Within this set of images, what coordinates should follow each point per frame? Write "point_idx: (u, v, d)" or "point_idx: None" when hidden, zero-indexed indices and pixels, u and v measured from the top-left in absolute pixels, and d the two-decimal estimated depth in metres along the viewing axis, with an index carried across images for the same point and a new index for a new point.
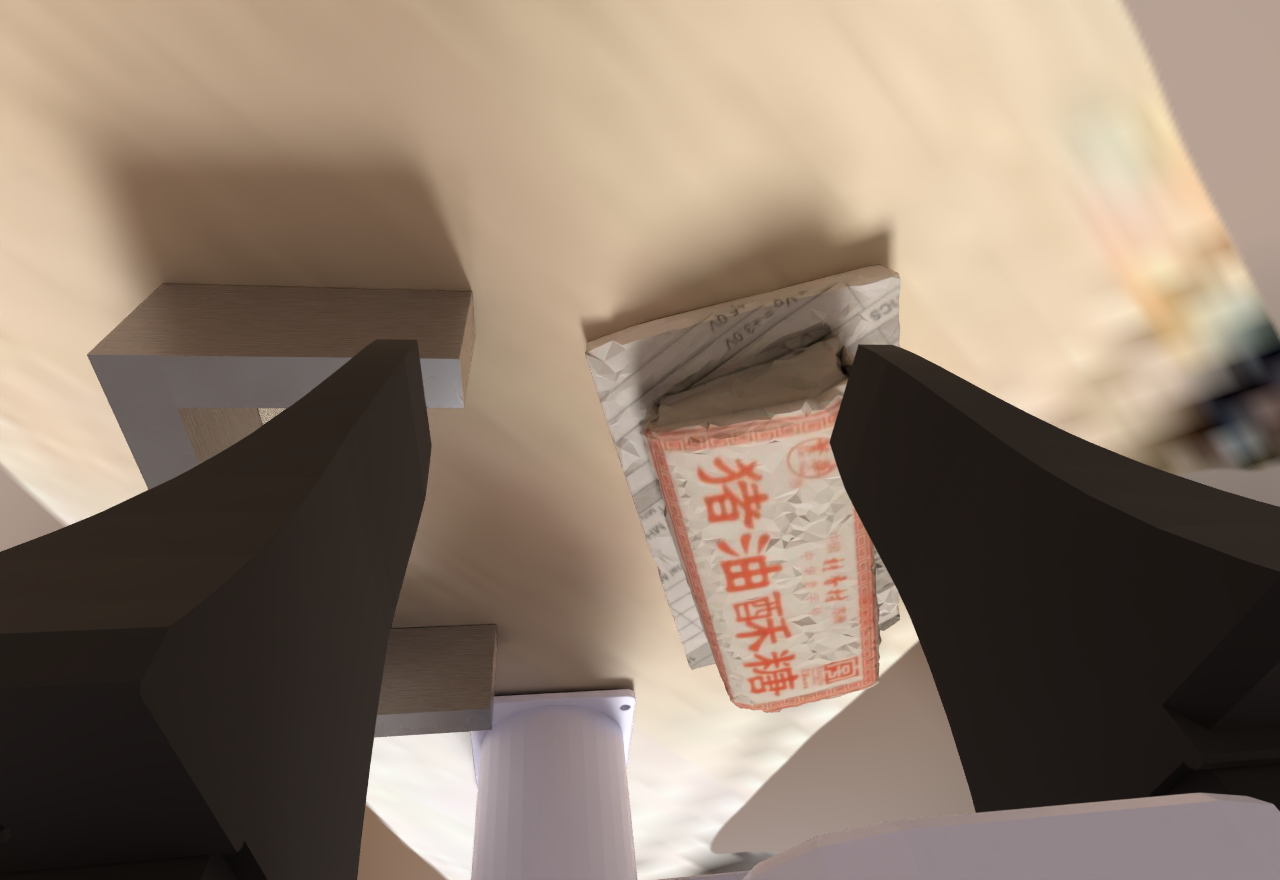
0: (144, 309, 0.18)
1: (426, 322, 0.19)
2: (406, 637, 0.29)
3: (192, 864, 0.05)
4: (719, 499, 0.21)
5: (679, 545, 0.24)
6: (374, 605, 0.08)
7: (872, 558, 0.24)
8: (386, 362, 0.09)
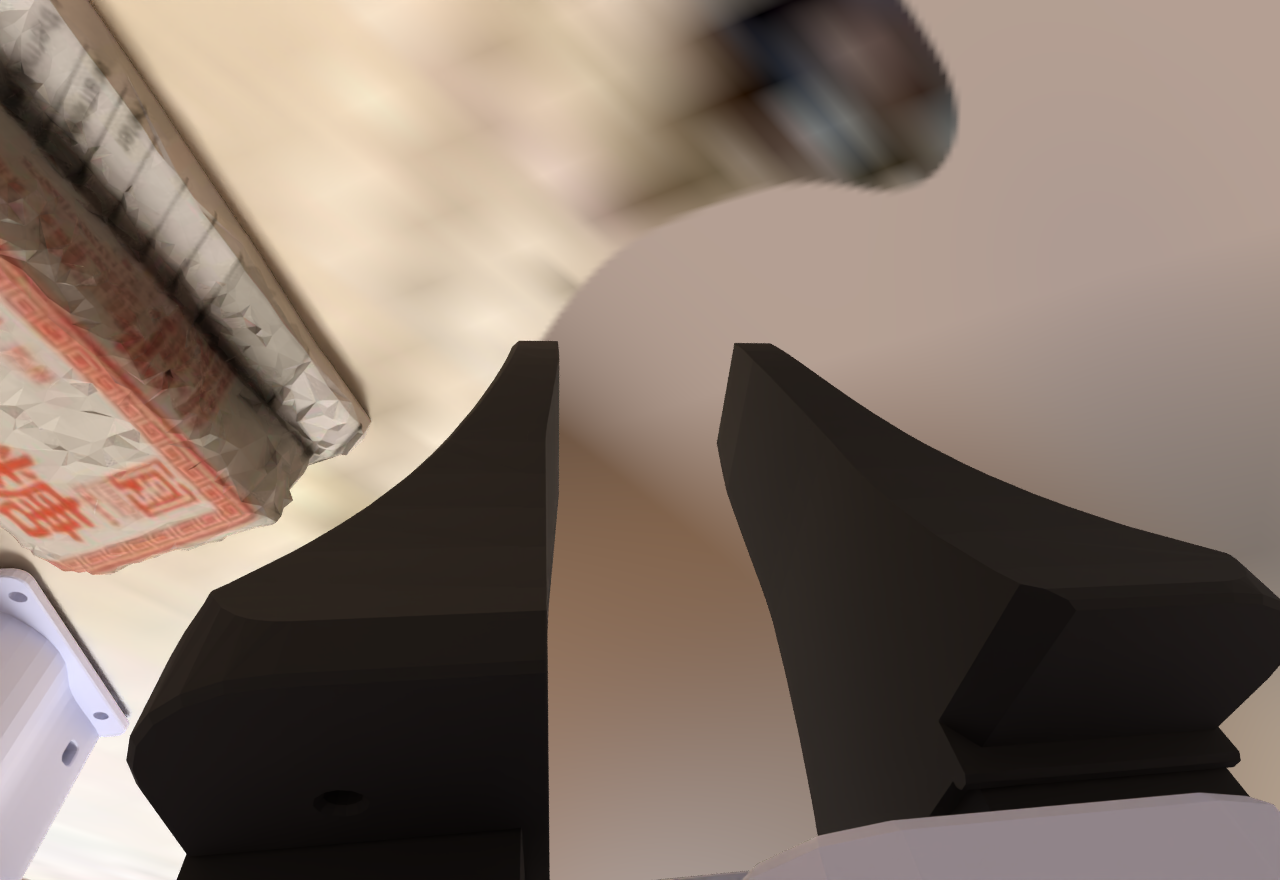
0: None
1: None
2: None
3: (507, 837, 0.05)
4: None
5: None
6: None
7: None
8: (544, 363, 0.09)
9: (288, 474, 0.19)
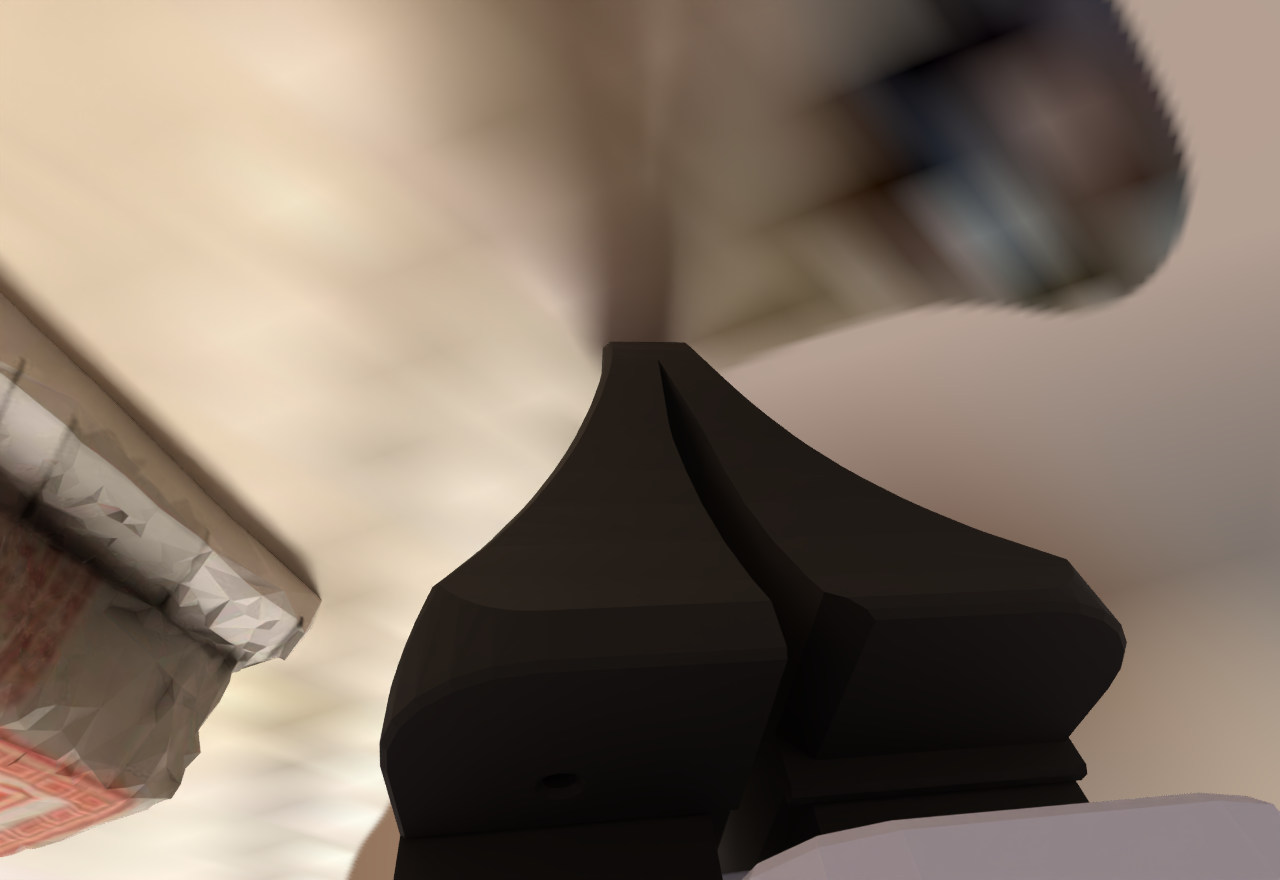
0: None
1: None
2: None
3: (699, 820, 0.05)
4: None
5: None
6: None
7: None
8: (644, 364, 0.10)
9: (193, 712, 0.13)
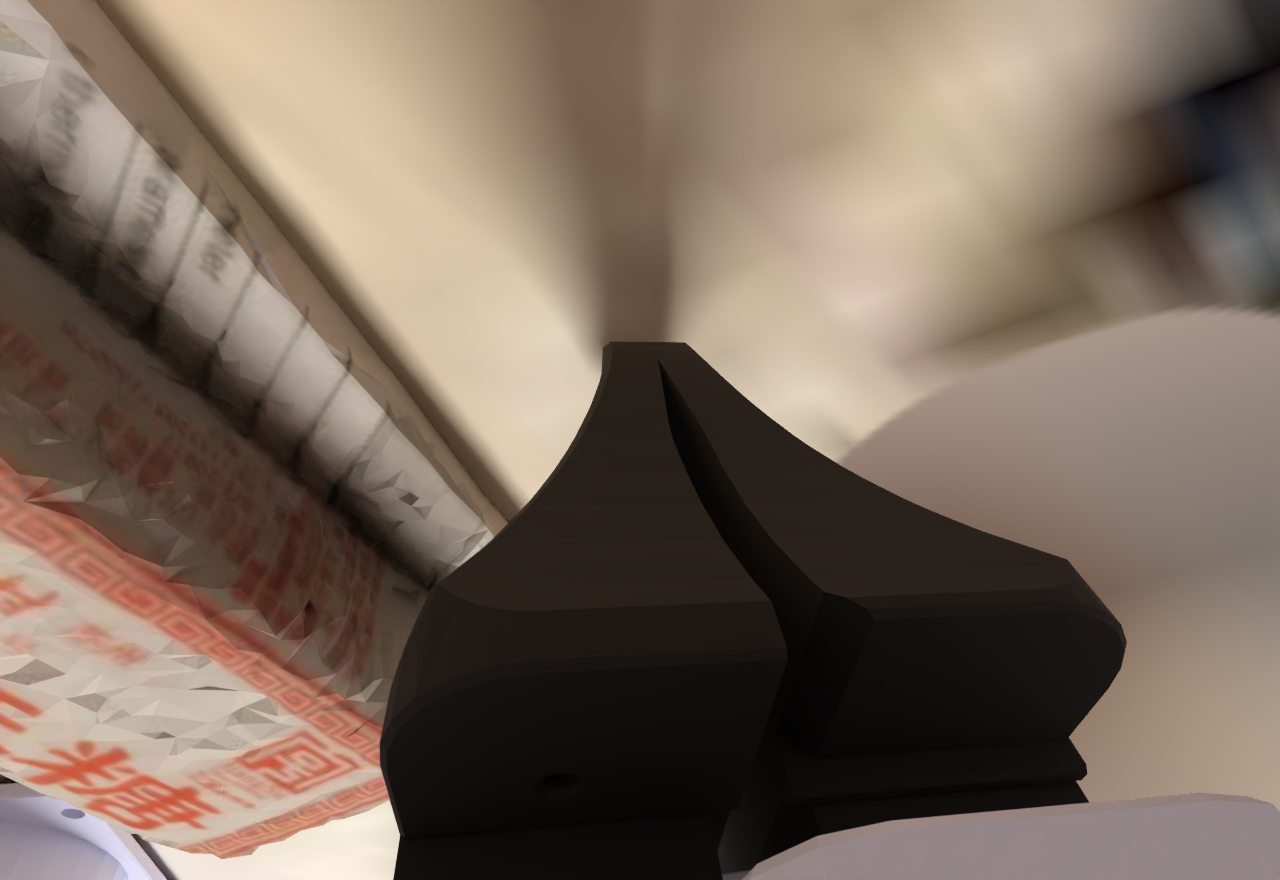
0: None
1: None
2: None
3: (699, 820, 0.05)
4: None
5: None
6: None
7: (1, 467, 0.07)
8: (644, 364, 0.10)
9: None
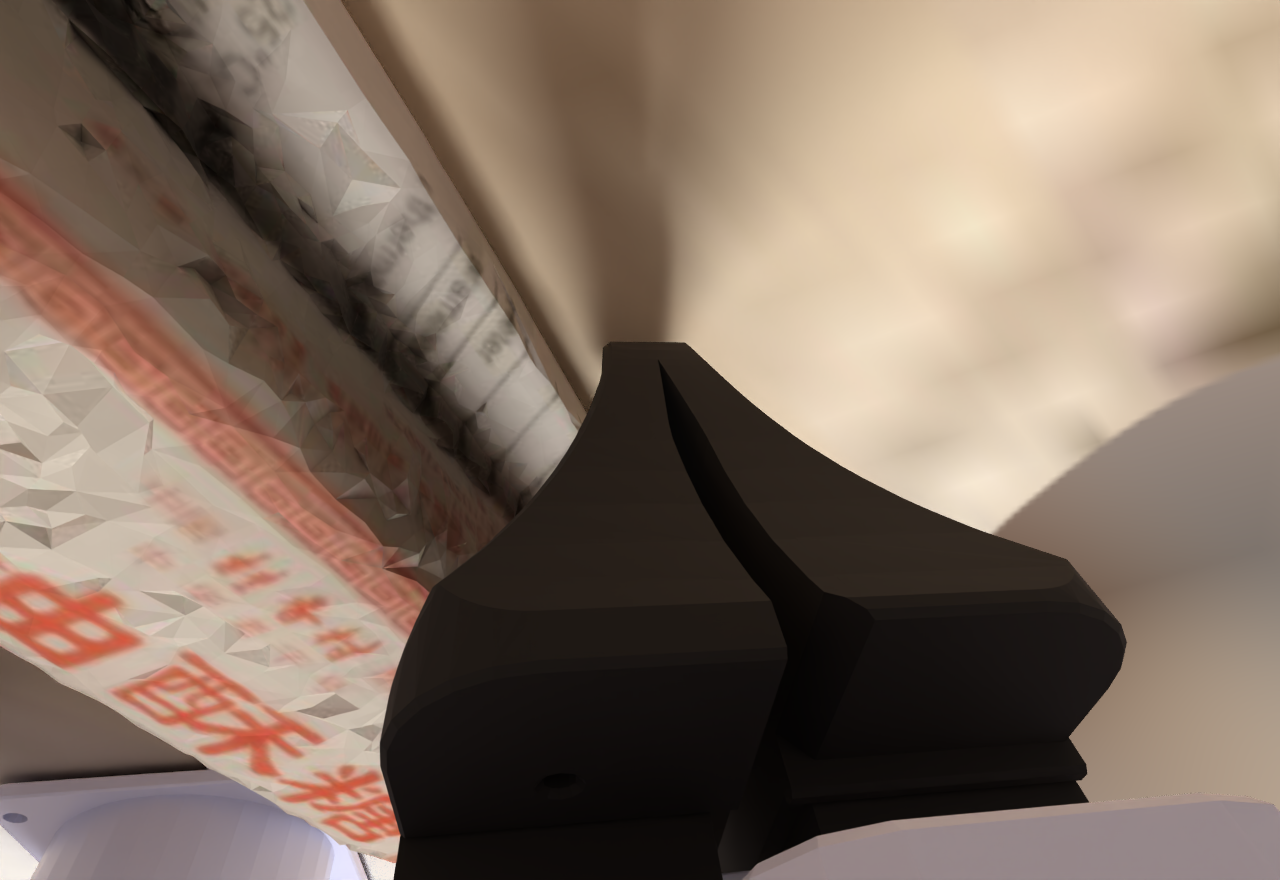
0: None
1: None
2: None
3: (700, 820, 0.05)
4: None
5: None
6: None
7: (372, 541, 0.09)
8: (644, 364, 0.10)
9: None
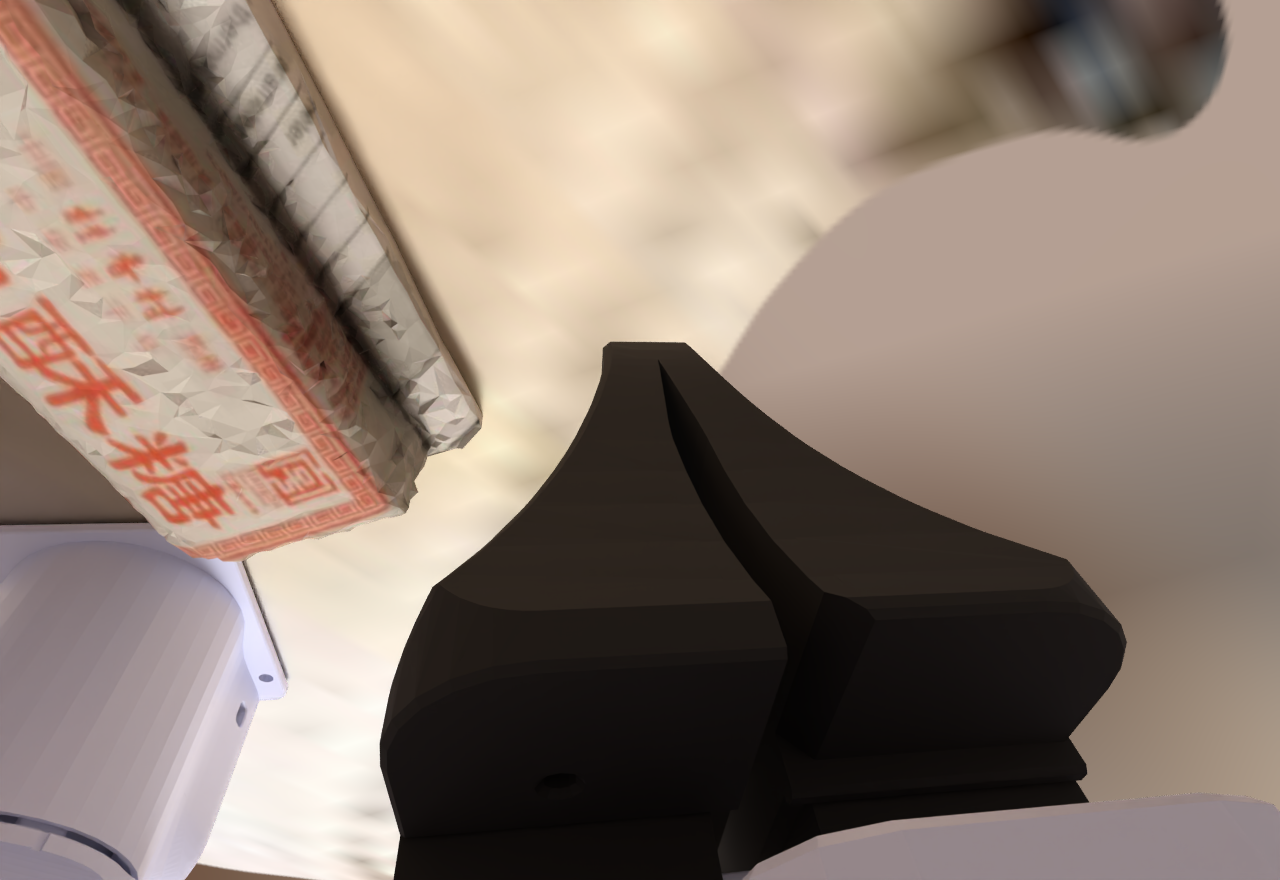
0: None
1: None
2: None
3: (699, 821, 0.05)
4: None
5: None
6: None
7: (177, 217, 0.13)
8: (644, 364, 0.10)
9: (413, 466, 0.19)
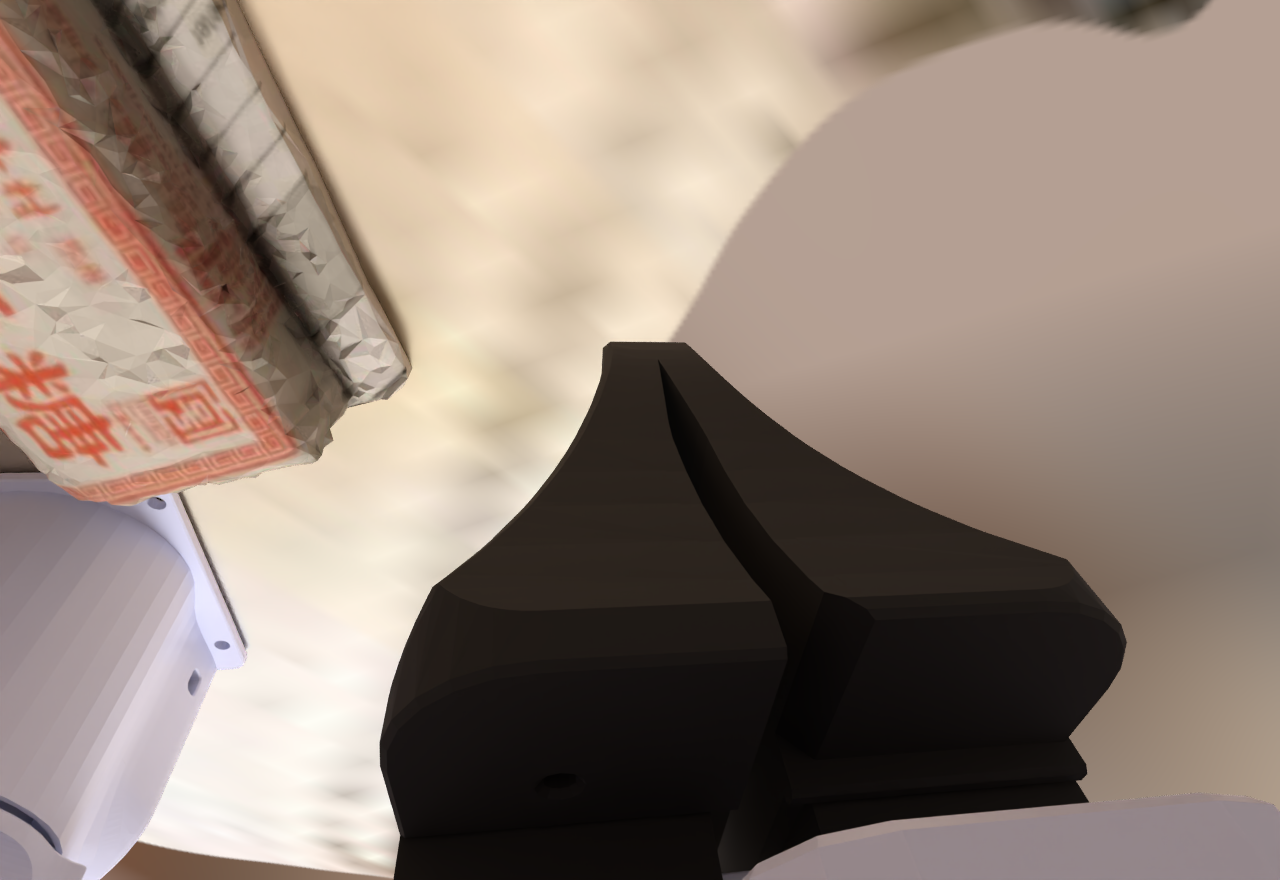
0: None
1: None
2: None
3: (700, 820, 0.05)
4: None
5: None
6: None
7: (50, 99, 0.12)
8: (644, 364, 0.10)
9: (329, 413, 0.18)
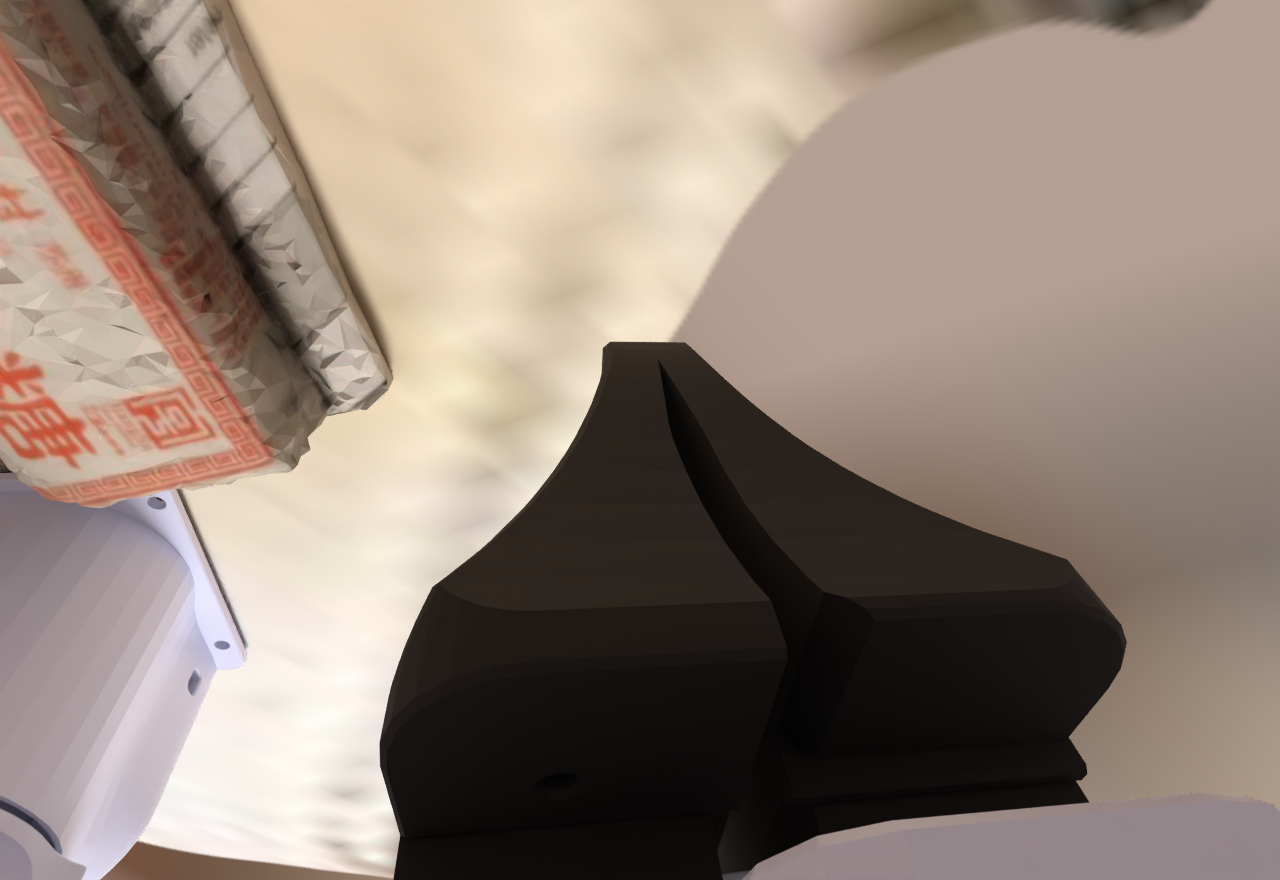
0: None
1: None
2: None
3: (700, 820, 0.05)
4: None
5: None
6: None
7: (40, 107, 0.12)
8: (644, 364, 0.10)
9: (308, 422, 0.18)
